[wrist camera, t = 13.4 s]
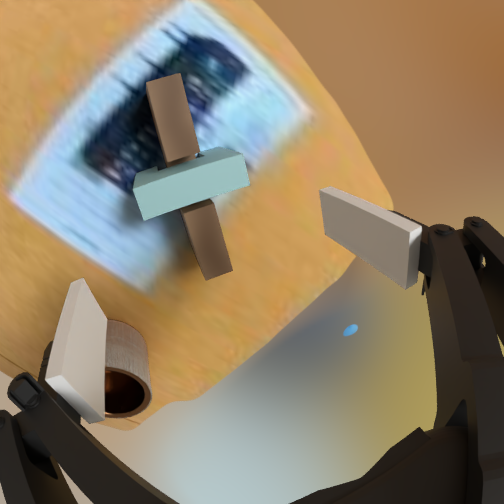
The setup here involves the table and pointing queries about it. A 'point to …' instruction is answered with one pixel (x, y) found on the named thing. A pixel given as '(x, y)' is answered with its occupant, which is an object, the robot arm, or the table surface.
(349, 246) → the robot arm
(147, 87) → the walnut fin
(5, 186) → the table surface
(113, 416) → the planter
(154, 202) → the light blue piece
